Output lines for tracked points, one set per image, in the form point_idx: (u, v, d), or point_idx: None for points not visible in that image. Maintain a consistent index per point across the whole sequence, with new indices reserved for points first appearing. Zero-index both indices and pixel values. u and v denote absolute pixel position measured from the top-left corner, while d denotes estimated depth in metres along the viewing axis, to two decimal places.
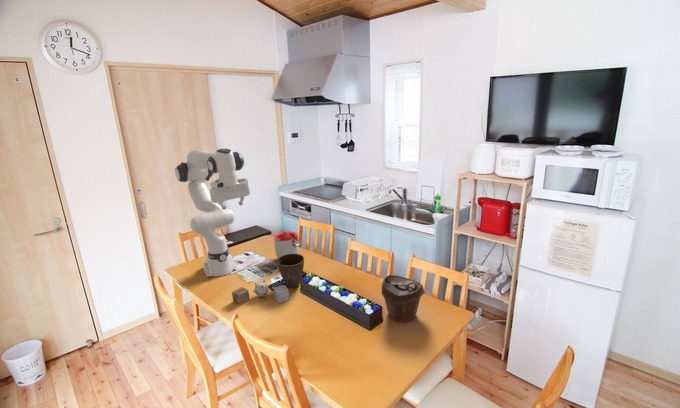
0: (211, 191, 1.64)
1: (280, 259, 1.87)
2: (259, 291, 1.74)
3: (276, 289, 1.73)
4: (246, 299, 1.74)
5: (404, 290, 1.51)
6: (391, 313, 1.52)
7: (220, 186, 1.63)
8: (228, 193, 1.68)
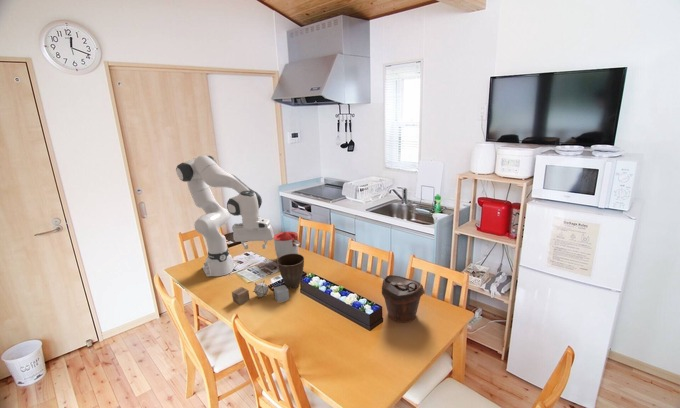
0: (271, 228, 1.67)
1: (280, 259, 1.87)
2: (259, 291, 1.74)
3: (276, 289, 1.73)
4: (246, 299, 1.74)
5: (404, 290, 1.51)
6: (391, 313, 1.52)
7: None
8: None
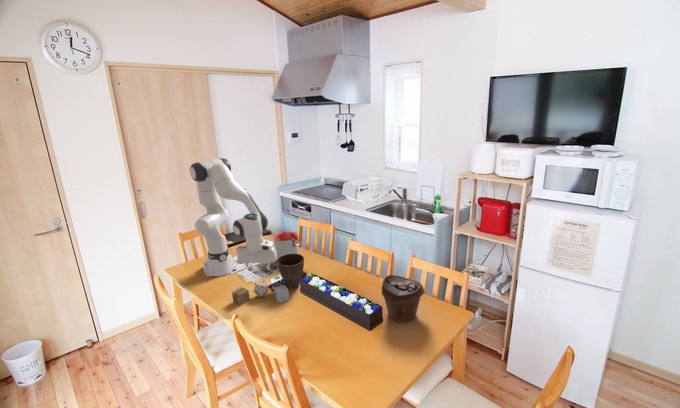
0: (274, 250, 1.70)
1: (280, 259, 1.87)
2: (259, 291, 1.74)
3: (276, 289, 1.73)
4: (246, 299, 1.74)
5: (404, 290, 1.51)
6: (391, 313, 1.52)
7: None
8: None
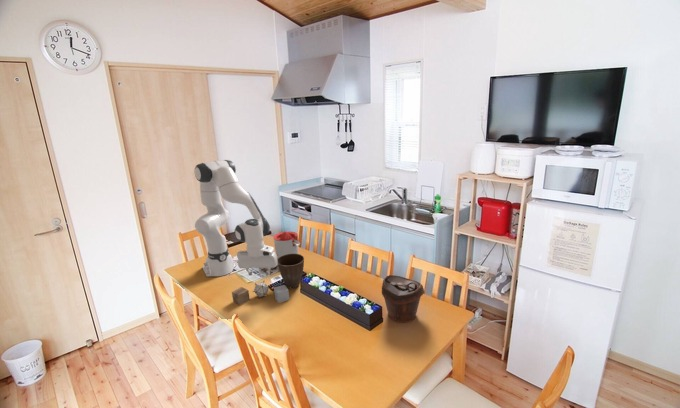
0: (274, 256, 1.71)
1: (280, 259, 1.87)
2: (259, 291, 1.74)
3: (276, 289, 1.73)
4: (246, 299, 1.74)
5: (404, 290, 1.51)
6: (391, 313, 1.52)
7: None
8: None
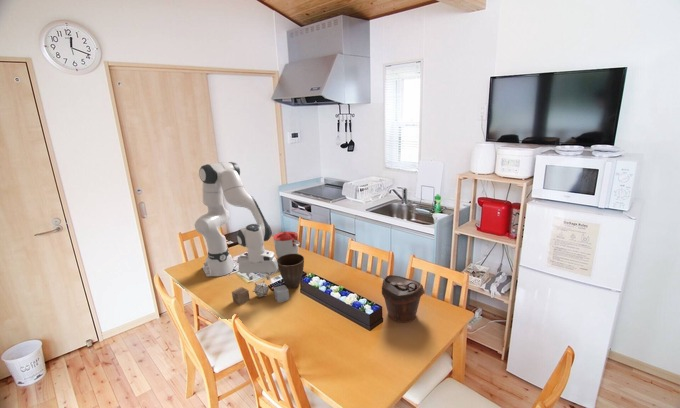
0: (275, 261, 1.72)
1: (280, 259, 1.87)
2: (259, 291, 1.74)
3: (276, 289, 1.73)
4: (246, 299, 1.74)
5: (404, 290, 1.51)
6: (391, 313, 1.52)
7: None
8: None
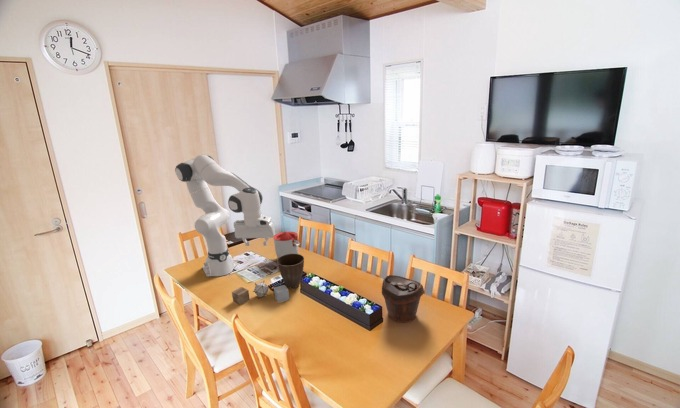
0: (272, 226, 1.68)
1: (280, 259, 1.87)
2: (259, 291, 1.74)
3: (276, 289, 1.73)
4: (246, 299, 1.74)
5: (404, 290, 1.51)
6: (391, 313, 1.52)
7: None
8: None
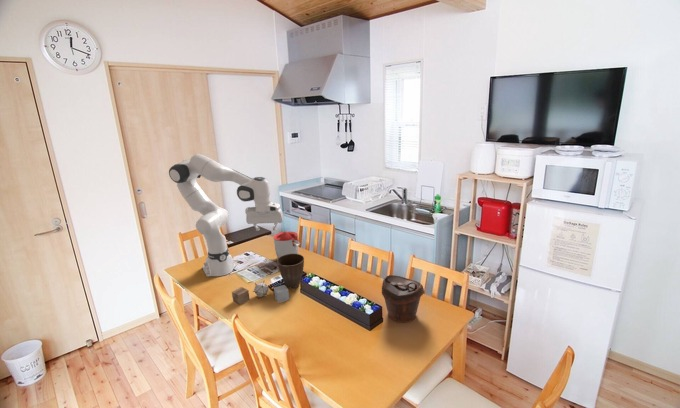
0: (281, 212, 1.82)
1: (280, 259, 1.87)
2: (259, 291, 1.74)
3: (276, 289, 1.73)
4: (246, 299, 1.74)
5: (404, 290, 1.51)
6: (391, 313, 1.52)
7: None
8: None
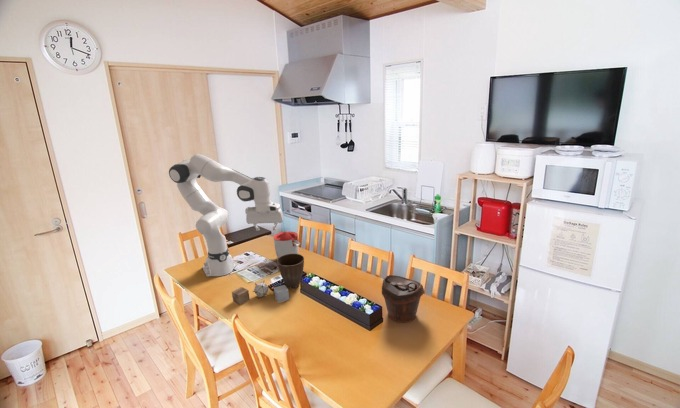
0: (281, 212, 1.82)
1: (280, 259, 1.87)
2: (259, 291, 1.74)
3: (276, 289, 1.73)
4: (246, 299, 1.74)
5: (404, 290, 1.51)
6: (391, 313, 1.52)
7: None
8: None
